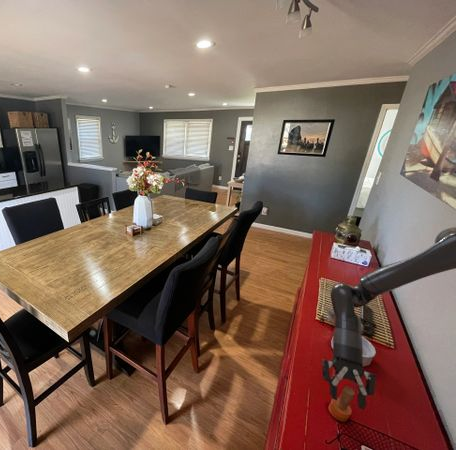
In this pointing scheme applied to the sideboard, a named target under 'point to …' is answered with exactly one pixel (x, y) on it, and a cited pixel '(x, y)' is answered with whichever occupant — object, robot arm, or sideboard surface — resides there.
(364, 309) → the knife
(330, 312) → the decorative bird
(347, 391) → the brush
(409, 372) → the sideboard surface
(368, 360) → the bowl
